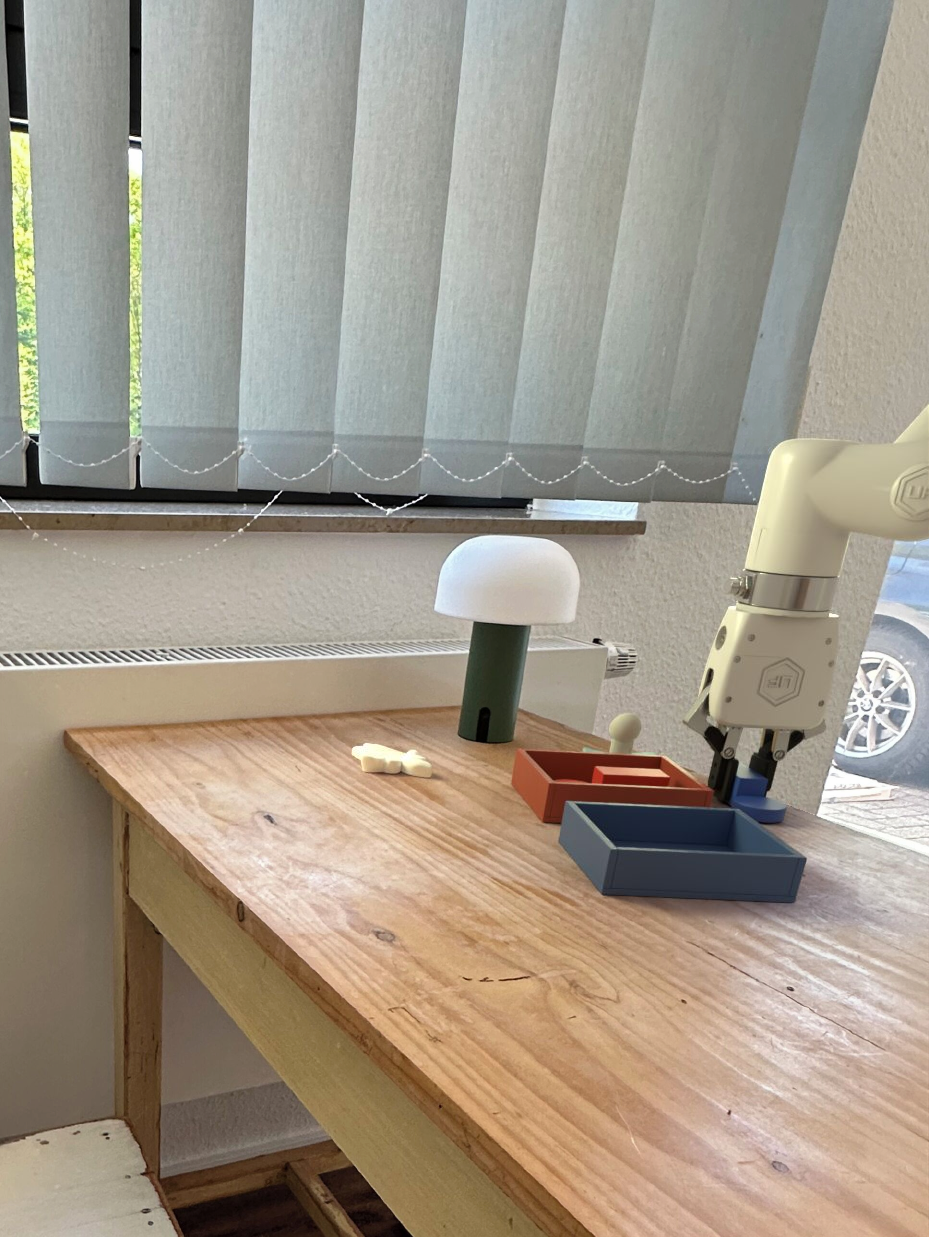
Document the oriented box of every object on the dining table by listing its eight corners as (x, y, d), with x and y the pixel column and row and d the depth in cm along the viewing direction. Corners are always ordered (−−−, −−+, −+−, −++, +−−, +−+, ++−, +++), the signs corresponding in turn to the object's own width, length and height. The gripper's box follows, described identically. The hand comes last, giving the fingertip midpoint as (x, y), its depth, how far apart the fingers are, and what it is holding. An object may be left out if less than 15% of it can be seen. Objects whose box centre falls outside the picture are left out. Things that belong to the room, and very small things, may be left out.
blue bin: (728, 849, 88) (739, 808, 86) (794, 903, 78) (807, 858, 76) (557, 841, 87) (565, 800, 86) (601, 894, 77) (610, 849, 76)
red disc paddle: (649, 795, 99) (656, 766, 98) (667, 810, 95) (674, 780, 94) (540, 790, 99) (545, 761, 98) (554, 805, 95) (559, 774, 94)
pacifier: (571, 761, 111) (583, 776, 106) (582, 701, 109) (594, 713, 103) (643, 767, 111) (659, 781, 105) (655, 706, 108) (672, 718, 103)
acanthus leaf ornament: (431, 779, 102) (434, 760, 102) (360, 776, 102) (362, 757, 101) (418, 757, 109) (420, 739, 108) (351, 754, 109) (352, 736, 108)
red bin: (657, 790, 102) (665, 755, 101) (705, 829, 92) (714, 790, 91) (510, 784, 102) (516, 748, 100) (542, 822, 92) (549, 783, 90)
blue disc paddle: (697, 787, 104) (703, 759, 102) (742, 789, 104) (749, 761, 103) (743, 821, 94) (751, 791, 93) (792, 823, 94) (800, 793, 93)
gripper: (711, 596, 89) (665, 806, 97) (901, 604, 90) (841, 813, 97) (677, 585, 96) (636, 782, 104) (854, 593, 96) (801, 789, 104)
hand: (736, 795), depth 100 cm, fingers closed on blue disc paddle, 2 cm apart
